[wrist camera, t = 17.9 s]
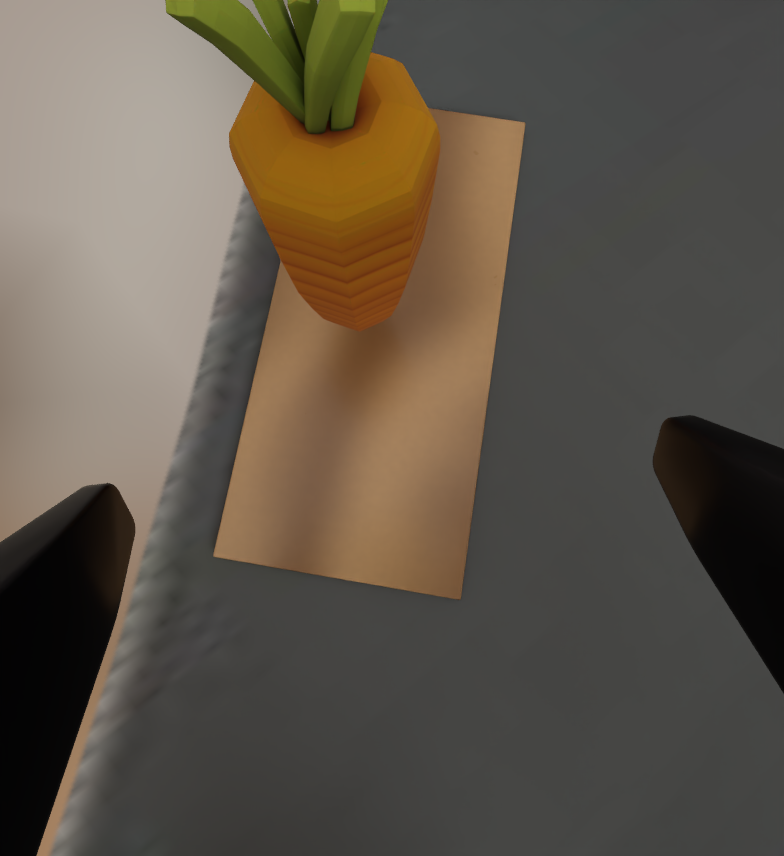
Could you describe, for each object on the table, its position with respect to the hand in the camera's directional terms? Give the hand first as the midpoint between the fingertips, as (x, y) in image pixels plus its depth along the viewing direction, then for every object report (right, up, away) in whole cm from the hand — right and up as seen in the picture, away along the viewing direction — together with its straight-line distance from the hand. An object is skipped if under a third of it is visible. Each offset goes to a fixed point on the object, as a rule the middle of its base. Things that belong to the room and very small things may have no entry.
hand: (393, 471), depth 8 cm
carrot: (-1, +5, +14) cm, 15 cm away
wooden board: (0, +5, +14) cm, 15 cm away
